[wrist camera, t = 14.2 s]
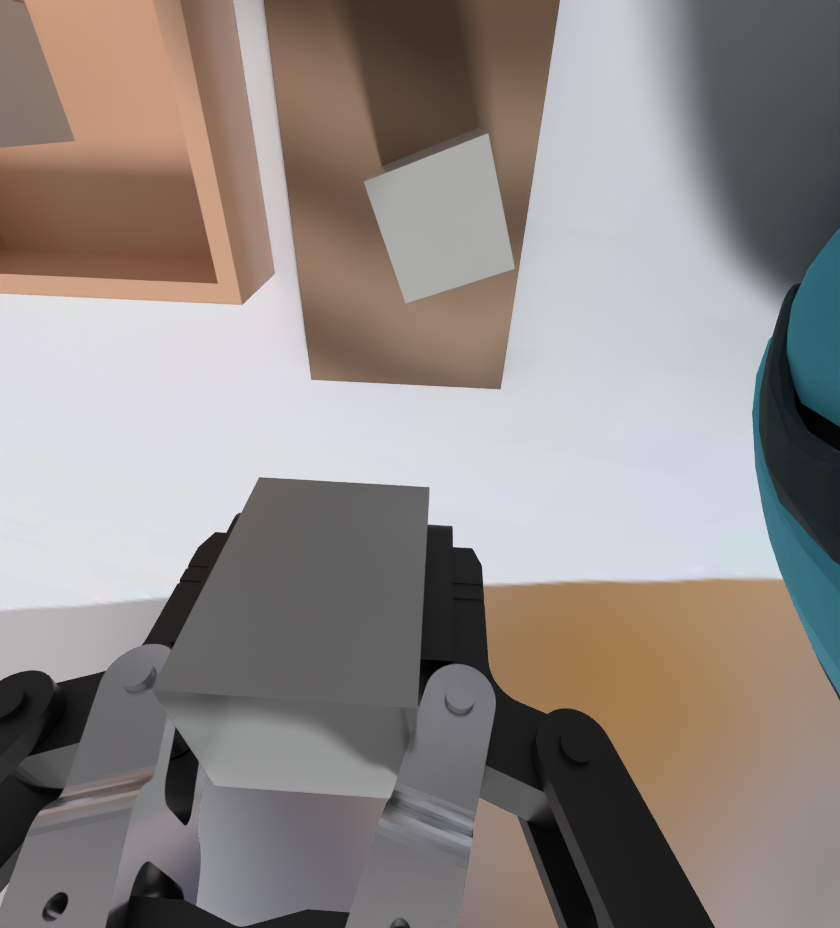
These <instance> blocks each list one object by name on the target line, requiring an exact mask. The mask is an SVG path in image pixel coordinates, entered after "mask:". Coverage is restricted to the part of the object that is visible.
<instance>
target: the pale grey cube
mask: <svg viewBox="0 0 840 928" xmlns="http://www.w3.org/2000/svg"><path fill="white" fill-rule="evenodd" d="M364 184H365V187H366V190H367V193H368V196H369V199H370V202H371V205H372V208H373V210H374V213H375V216H376V219H377V222H378V225H379V228H380V231H381V234H382V237H383V239H384V242H385V245H386V248H387V251H388V254H389V257H390V260H391V263H392V265H393V268H394V271H395V274H396V277H397V280H398V283H399V286H400V289H401V292H402V294H403V297H404V300H405V303H409V302H412V301H415V300H418V299H421V298H424V297H428V296H431V295H434V294H437V293H440V292H443V291H446V290H450V289H453V288H456V287H459V286H462V285H465V284H468V283H472V282H475V281H478V280H481V279H484V278H487V277H490V276H494V275H497V274H500V273H503V272H506V271H509V270H512V269H515V266H514V261H513V256H512V251H511V246H510V241H509V236H508V231H507V226H506V221H505V216H504V210H503V205H502V200H501V195H500V190H499V185H498V180H497V175H496V170H495V165H494V160H493V155H492V150H491V144H490V139H489V134H488V133H487V132H486V131H484V130H482V129H481V128H477V129H474V130H472V131H469V132H467V133H464V134H462V135H459V136H457V137H454V138H451V139H449V140H446V141H444V142H441V143H439V144H436V145H434V146H431V147H429V148H426V149H424V150H421V151H419V152H416V153H413V154H411V155H408V156H406V157H403V158H401V159H398V160H396V161H393V162H391V163H388V164H386V165H383V166H381V167H380V168H379V169H378V170H377V171H375V172H374V173H373V174H372V175H371V176H370V177H369V178H367V179H366V180H365V181H364Z"/></svg>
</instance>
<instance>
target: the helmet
mask: <svg viewBox="0 0 840 928" xmlns="http://www.w3.org/2000/svg"><path fill="white" fill-rule="evenodd" d="M752 417H753V434H754V451H755V467H756V473H757V479H758V484H759V490H760V496H761V502H762V508H763V512H764V517H765V521H766V525H767V530H768V534H769V538H770V542H771V545H772V548H773V551H774V554H775V557H776V560H777V563H778V566H779V569H780V572H781V574H782V577H783V579H784V582H785V584H786V587H787V589H788V592H789V594H790V597H791V599H792V602H793V604H794V607H795V609H796V611H797V613H798V615H799V618H800V620H801V622H802V625H803V627H804V629H805V631H806V634H807V636H808V638H809V640H810V642H811V645H812V647H813V650H814V652H815V654H816V656H817V658H818V660H819V662H820V664H821V666H822V668H823V670H824V672H825V674H826V676H827V678H828V680H829V681H830V683H831V685H832V687H833V689H834V691H835V692H836V694H837V696H838V698H839V700H840V228H839V229H838V230H837V231H836V232H835V233H834V235H833V236H832V237H831V239H830V240H829V241H828V243H827V244H826V245H825V246H824V248H823V249H822V250H821V252H820V253H819V254H818V256H817V257H816V258H815V260H814V261H813V262H812V264H811V265H810V266H809V268H808V270H807V272H806V274H805V276H804V279H803V281H802V283H799V284H795V285H793V286H792V287H791V288H790V290H789V291H788V292H787V294H786V297H785V299H784V301H783V303H782V306H781V309H780V312H779V316H778V319H777V322H776V326H775V329H774V333H773V336H772V337H771V338H770V339H769V341H768V344H767V347H766V350H765V353H764V355H763V358H762V361H761V364H760V367H759V370H758V372H757V376H756V385H755V393H754V402H753V411H752Z"/></svg>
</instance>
